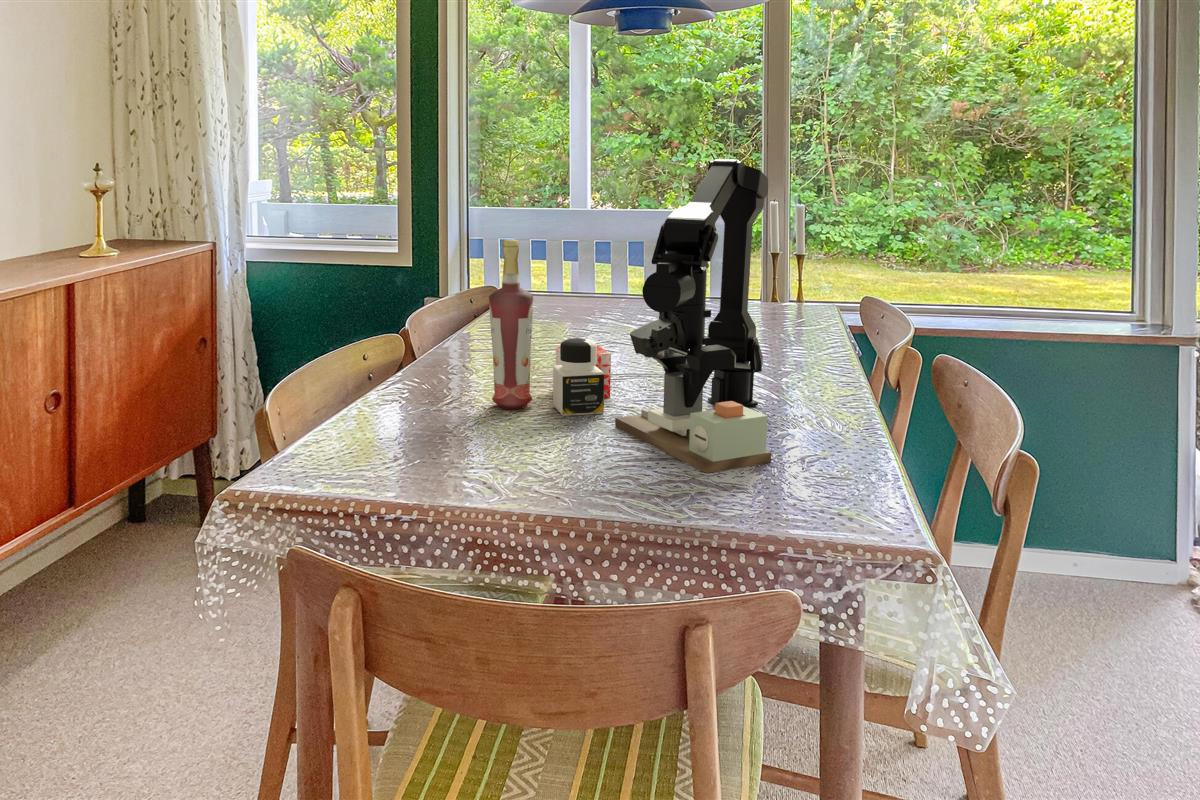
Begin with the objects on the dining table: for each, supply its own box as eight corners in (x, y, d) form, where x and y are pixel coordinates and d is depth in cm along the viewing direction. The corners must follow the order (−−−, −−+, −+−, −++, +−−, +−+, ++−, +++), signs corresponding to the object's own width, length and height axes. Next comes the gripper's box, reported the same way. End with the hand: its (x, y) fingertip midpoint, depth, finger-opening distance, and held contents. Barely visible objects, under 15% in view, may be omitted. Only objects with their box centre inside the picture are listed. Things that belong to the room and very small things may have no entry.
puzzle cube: (555, 389, 191) (555, 347, 189) (597, 387, 193) (597, 345, 191) (567, 400, 183) (567, 356, 181) (610, 397, 186) (611, 353, 184)
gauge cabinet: (740, 442, 154) (742, 406, 153) (765, 453, 149) (767, 415, 148) (686, 450, 150) (687, 413, 148) (710, 462, 145) (711, 423, 143)
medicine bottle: (562, 416, 173) (562, 345, 170) (552, 406, 179) (552, 336, 176) (604, 414, 174) (605, 343, 172) (592, 403, 181) (593, 335, 178)
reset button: (730, 427, 150) (731, 400, 150) (742, 432, 148) (743, 405, 147) (714, 430, 149) (715, 402, 148) (725, 435, 147) (726, 407, 146)
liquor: (532, 412, 175) (531, 243, 168) (488, 411, 175) (485, 242, 168) (535, 401, 182) (534, 238, 175) (493, 400, 182) (490, 238, 175)
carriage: (691, 419, 164) (693, 366, 162) (717, 430, 158) (719, 375, 156) (647, 425, 161) (648, 371, 159) (672, 437, 155) (673, 381, 153)
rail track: (673, 418, 172) (674, 404, 171) (770, 462, 150) (771, 445, 149) (615, 426, 167) (615, 411, 166) (706, 473, 145) (707, 455, 144)
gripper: (608, 296, 159) (606, 396, 163) (672, 316, 143) (669, 426, 147) (670, 292, 164) (668, 389, 168) (740, 310, 148) (735, 417, 152)
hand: (683, 404), depth 159 cm, fingers closed on carriage, 3 cm apart
